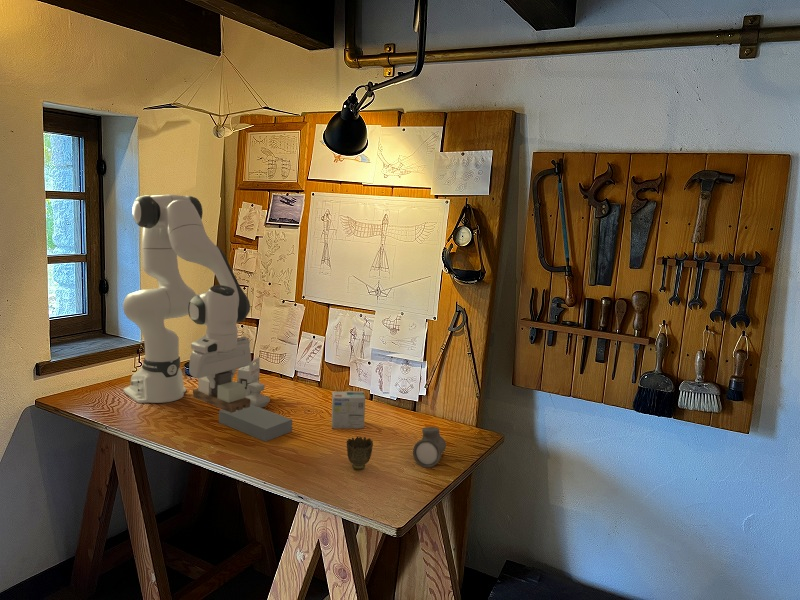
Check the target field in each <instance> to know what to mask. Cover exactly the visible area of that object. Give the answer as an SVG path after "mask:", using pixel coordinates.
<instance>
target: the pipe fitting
mask: <svg viewBox="0 0 800 600" xmlns="http://www.w3.org/2000/svg"><path fill="white" fill-rule="evenodd" d="M421 432H422V433H421V434H422V439H420V440H418V441H417V442H416V443H415V444H414V447H413V449H412V456H413V459H414V460H415V463H417V464H418V465H419V466H420V467H422V468H427V469H428V468H433V467H435V466H436V465H437V464H438V463H439V462H440V460H441V458H442V454H443V453H444V452H445V450H446V447H447V443H446V439H444V437H442V436H441V433H440V428H439V427H435V426H425V427H422V428H421Z"/></svg>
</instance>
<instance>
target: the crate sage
mask: <svg viewBox="0 0 800 600" xmlns="http://www.w3.org/2000/svg"><path fill="white" fill-rule="evenodd" d="M217 398H218V399H220V400H223V401H225V402H228V403H230V402H233V401H236V400H239V399H243V398H245V385H243V384H241V383H238V382H237V381H235V380H232V382H229V383H225V384H221V385H218V395H217Z"/></svg>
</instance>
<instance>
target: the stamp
mask: <svg viewBox="0 0 800 600" xmlns="http://www.w3.org/2000/svg"><path fill="white" fill-rule="evenodd" d="M265 386H266V385H265V384H264V383H262V382H261V383H260V382H259V383H258V382H254V383H251V384H248V388H249V390H250V391H252V392H253V394H252V395H249V396H246V398H248V399H250V404H252V405H254V406H257V407H260V408H264V407H266V406H267V405H268V404H269V403H270V402H271V398H270V397H269V396H268V395H264V394H261V392H263V391H265Z"/></svg>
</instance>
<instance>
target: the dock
mask: <svg viewBox="0 0 800 600" xmlns="http://www.w3.org/2000/svg"><path fill="white" fill-rule="evenodd" d="M218 423H219V424H221V425H224V426H227V427H229V428H231V429H234V430H236V431H239V432H242V433H243V434H246V435H249V436H251V437H253V438H255V439H258V440H260V441H262V442H269V441H271V440H273V439H276V438H278V437H281V436H283V435H286V434H289V433H292V432H293V419H292V418H289V417H286V416H284V415H281V414H278V413H275V412H272V411H270V410H268V409H264V407H262V408H260V407H257V406H254V405H252V404H250V407H248V408H244V407H243V409H242V410H236V412H233V413H231V412H228V411H226V410H223V409H219V410H218Z"/></svg>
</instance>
